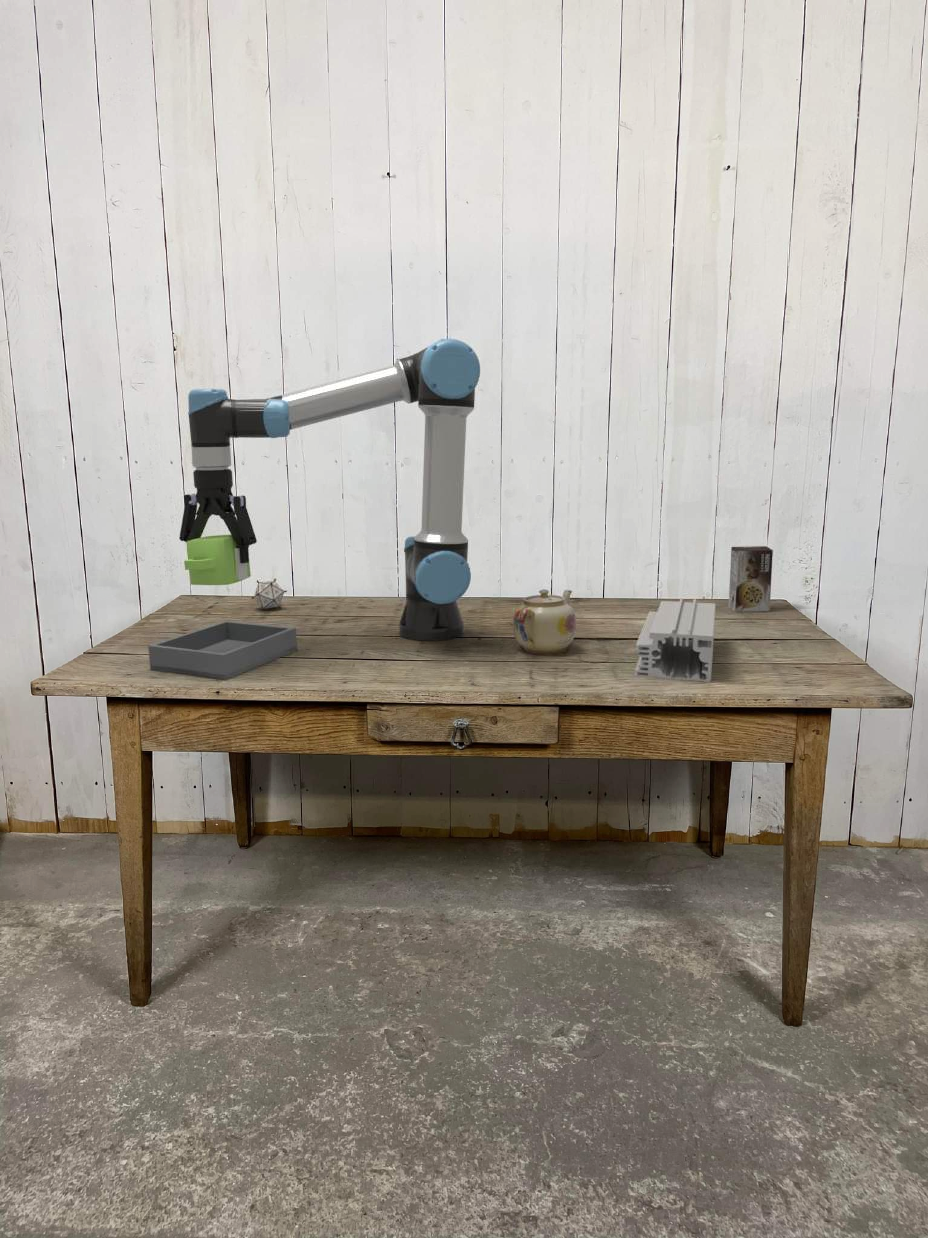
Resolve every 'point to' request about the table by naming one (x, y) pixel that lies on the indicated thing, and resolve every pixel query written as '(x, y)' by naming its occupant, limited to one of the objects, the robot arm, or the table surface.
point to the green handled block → (212, 560)
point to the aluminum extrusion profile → (677, 642)
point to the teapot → (545, 623)
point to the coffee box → (750, 579)
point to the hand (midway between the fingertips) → (220, 577)
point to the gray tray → (222, 649)
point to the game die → (268, 594)
